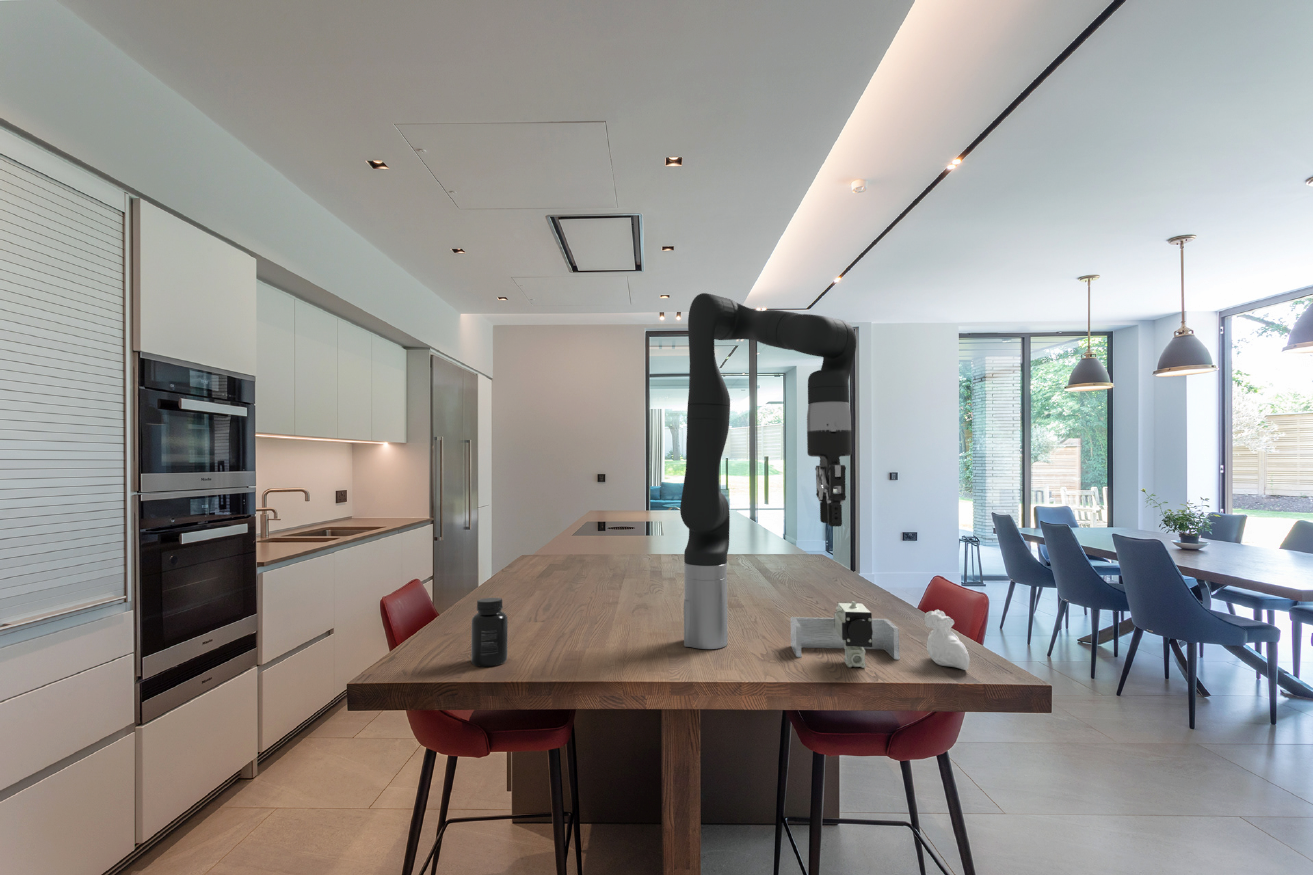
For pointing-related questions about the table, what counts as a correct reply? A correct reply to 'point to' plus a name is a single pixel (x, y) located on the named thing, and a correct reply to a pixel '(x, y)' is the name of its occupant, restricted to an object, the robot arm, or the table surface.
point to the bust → (945, 642)
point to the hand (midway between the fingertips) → (830, 524)
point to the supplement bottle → (489, 633)
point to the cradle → (826, 636)
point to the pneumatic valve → (854, 631)
